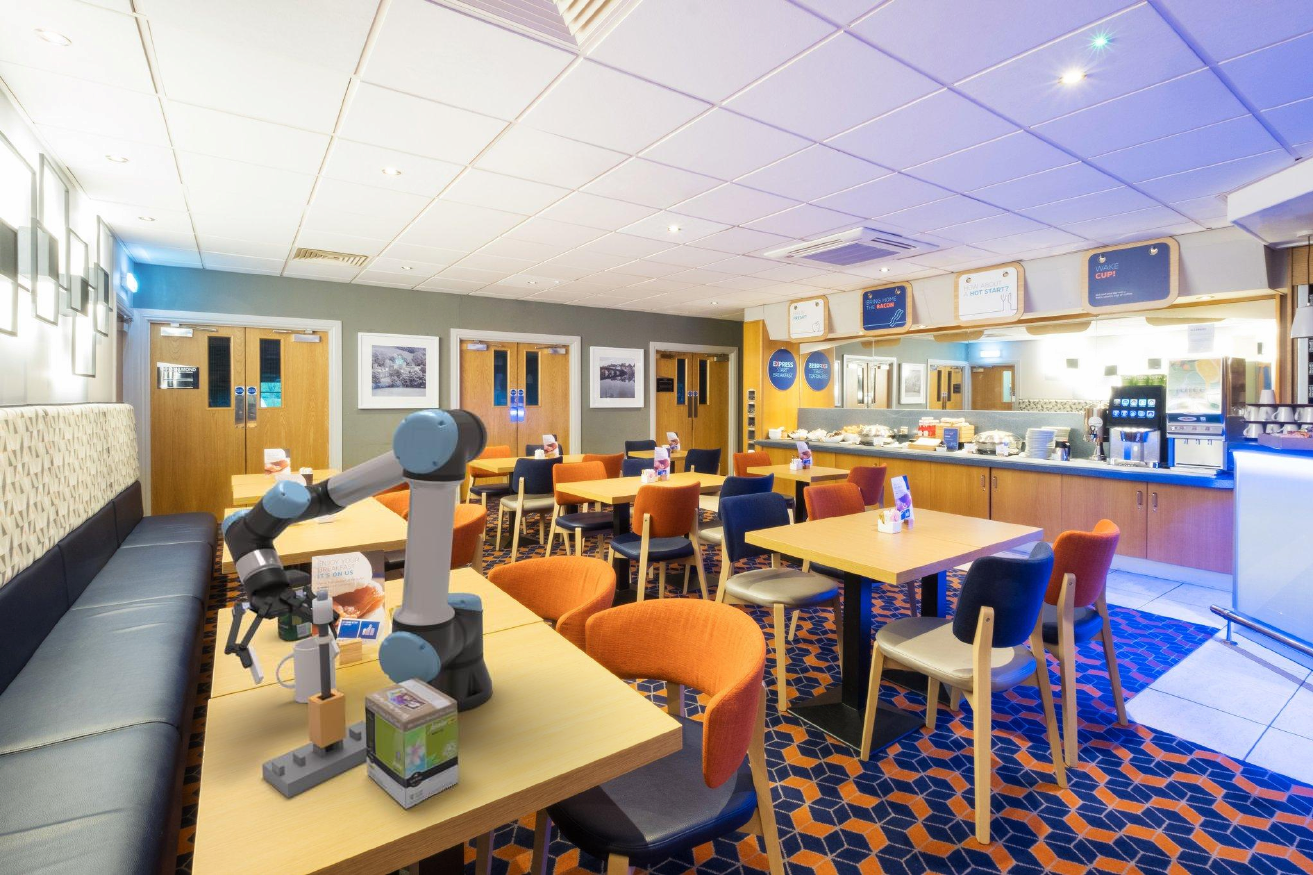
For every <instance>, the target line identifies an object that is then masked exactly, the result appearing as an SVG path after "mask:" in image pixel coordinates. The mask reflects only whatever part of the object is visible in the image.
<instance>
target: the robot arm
mask: <svg viewBox="0 0 1313 875" xmlns="http://www.w3.org/2000/svg"><path fill="white" fill-rule="evenodd" d="M487 443H488V431H487V427H486V425H485V423H484V421H483V420H482V419H481V418H480V417H479V416H478V415H477V414H476V413H473V412H472V411H469V410H466V409H463V408H462V409H461V408H454V409H445V408H444V409H440V408H439V409H437V408H433V409H431V408H429V409H424V410H419V411H416V412H413V413H411V414H409V415H407V416H406V417H405V418H404V419H402V420H401V422H400V423H399V424H398V426H397V427H396V429H395V431H394V435H393V439H392V449H391V450H390V451H387V452H385V453H383V454H380V455H379V456H376V457H373V458H371V459H369V460H367V461H365V462H363V463H360V464H358V465H355V466H354V467H351V468H349V469H346V470H344V471H342V472H339V473H337V474H336V475H333V476H330V477H328V478H327V479H324V480H321V481H319V482H317V483H313V484H308V485H303V484H301V483H299V482H298V481H292V480H291V479H285V480H281V481H279V482H277V483H276V484H275V485H274V486H272V487H271V488H270V489H269V490H267V491H266V492H265V494H264V496H262V497H261V499H260V500H259V501H257V503H255V505H254V506H253V507H252V508H245V509H239V510H235V511H234V513H232V514H229V515H227V516H226V517H225V518H224V519H223V521H222V523H221V524H220V525H221V531H222V535H223V541H224V543H225V544H226V547H227V550H228V551H229V554H230V557H231V558H232V559H231V560H232V562H233V564H234V566H235V570H236V572H237V575H238V576H239V580H240V583H241V584H242V588H243V590H244V593H245V596H246V598H247V600H248V601H247V602H242V601H241V600H237V601H235V602H234V604H233V606H232V608H231V615H232V621H231V625H230V629H229V633H228V636H227V641H226V643H225V644H226V645H225V647H224V651H223V653H224V655H226V656H229V655H231V654H235V656H236V657H238V658H239V660H240V662H241V665H242V668H243V669H250V673H251V675H252V677H253V678H252V679H253V681H254V684H255V686H257V685H259V684H261V683H262V681H263V679H264V677H265V674H264V672H263V669H262V666H261V663H260V660H259V658H258V655H257V653H256V650H255V648H254V645H250V642H251V641H252V639H253V637H254V636H255V634H256V632H257V630H258V629H259V627H260V625H261V623H262V621H263V620H264V619H266V620H269V621H271V620H274V619H276V618H278V617H282V616H286V614H290V615H292V616H297V617H299V618H302V619H304V620H306V621H308V622H310V623H312V624H313V626H314V625H315V626H316V627H318V624H314V623H313V607H312V600H313V599H315V598H317V595H316V594H315V593H314V592H313V590H312V588H311V589H310V587H309V586H307V585H306V586H304V587H303V589H301V590H298V591H294V590H292V588H291V586H290V583H289V580H288V578H287V576H286V573H285V571H286V570H285V569H284V566H283V563H282V562H281V559H280V557H279V555H278V552H277V550H276V547H275V545H274V542H275V540H276V539H278V537H279V536H280V535H281V534H282V533H283V532H284V531H286V529H287V528H288V527H289V526H291V525H294V524H295V525H296V524H298V523H302V522H305V521H308V520H313V519H317V518H320V517H325V516H331V515H335V514H338V513H340V512H342V511H344V510H345V509H347V508H348V507H349V506H351V505H353V504H356V503H358V502H361V501H363V500H366V499H368V498H370V497H372V496H374V495H378V494H380V493H383V492H385V491H387V490H389V489H391V488H393V487H396V486H398V485H401V484H403V483H405V482H406V483H407V484H408V485H409V498H408V513H407V514H408V515H407V525H406V526H407V528H406V541H405V542H406V544H405V555H404V558H405V559H404V571H403V573H404V574H403V585H402V598H401V599H402V600H401V605H399V606H397V607H396V608H395V609H394V611H393V614H392V621H391V633H389V634H388V635H386V637H385V638H384V639H383V640H382V642H381V644H380V646H379V648H378V655H377V656H378V657H377V658H378V662H379V666H380V669H381V670H382V672H383V673H384V674H385V675H387V676H388V678H389V680H390V681H392V682H393V683H395V685H396V684H399V683H402V682H404V681H407V680H410V679H413V678H418V679H419V680H421V681H423V682H425V683H427V684H428V685H430V686H432V687H434V688H435V689H437V690H439V691H440V692H442V693H444V694H446V695H448V696H449V697H451V698H453V699H454V700H456V701H457V713H459V712H463V711H467V710H470V709H473V708H476V707H478V706H481V705H482V704H484V703H485V702H487V701H488V700H489V699H490V698H491V696H493V680H492V678H491V675H490V672H489V670H488V668H487V664H486V661H485V660H484V659H485V658H484V617H483V616H484V615H483V613H484V609H483V603H482V602H483V601H482V598H481V597H480V596H479V595H477V594H475V593H470V592H469V593H468V592H450V593H449V590H450V589H449V588H450V575H451V562H452V549H453V535H454V526H455V525H454V524H455V513H456V500H457V499H456V498H457V489H458V487H459V486H460V485H461V484H462V483H463V482H464V481H465V480H466V473H467V464H469V463H471V462H473V461H475V460H477V459H478V458H479V457H481V455H482V453H483V452H484V450H485V449H486V447H487ZM296 598H300V600H301V601H304V602H305V603H306V604H307V605H308V606H309V607H311V608H312V609H310V608H308V607H306V606H304V605H303V604H302V603H301V602H299V601H297V600H295V599H296ZM292 606H294V607H295V608H294V609H293V608H292ZM247 611H250V612H252V613H254V614H255V615H256V616H255V617H254V619H253V621H252V622H251V624H250V626H249V628H248V630H247V631H246V633H245V635H244V637H243V638H242V640H241V642H240V643H239V642H238V643H237V640H238V635H239V632H240V627H241V624H242V620H243V617H244V615H245V614H246V613H247ZM340 617H341V614H340V613H339V612H338V611H336V610H335V609H334V608H333V621H331V622H329V623H328V626H329V633H333V641H331V642H329V652H330V656H331V659H335V660H336V658H337V657H338V656H339V654H340V652H341V650H340V648H339V646H338V644H337V642H336V641H337V639H338V638H339V637H338V633H337V630H336V628H335V625H336V624H337V623H338V621H339V619H340ZM249 645H250V646H249ZM489 697H490V698H489ZM480 704H481V705H480Z"/></svg>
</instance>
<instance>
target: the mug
mask: <svg viewBox="0 0 1313 875" xmlns="http://www.w3.org/2000/svg"><path fill="white" fill-rule="evenodd" d="M314 637H315V636H311V637H308V638H307V637H306V638H303V639H300V640H298V641H297V642H295V643H294V644H293V647H292V649H293V651H292V652H291V653H288V654H287V655H285V656H284V657H283V658H282V659H281V660H280V662H279V663H278V665H277V667H276V670H275V678H276V681H277V683H278V684H279V685H280V686H282V687H283V688H286V689H289V690H291V689H292V690H293V689H294V696H293V699H294V701H295V702H297V703H300V704H308V697H311V696H314V695H317V694H319V693H321V679H320V654H319V644H315V641H314ZM291 659H293V669H294V670H293V671H294V672H293V673H294V682H292V683H286V682H284V681H282V680H281V679H280V676H279V672H280V669H281V667H282V665H283V664H284V663H285V662H286V661H288V660H291ZM335 660H336V658H335V659H331V656H330V677H331V689H334V690H336V691H338V687H337V683H336V680H337V679H336V663H335V662H336V661H335Z"/></svg>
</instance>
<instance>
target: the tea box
mask: <svg viewBox="0 0 1313 875" xmlns="http://www.w3.org/2000/svg"><path fill="white" fill-rule="evenodd" d="M364 702H365V703H364V710H365V711H364V712H365V722H366V749H367V761H366V773H367V775H368V776H369V777H370V778H371V779H372V780H373V781H375V782H376V783H377V784H378V785H379V786H380V787H381V788H382V789H384V791H386V792H387V793H388V794H389V795H390V796H391V797H392V798H393V799H394V800H395V801H396V802H398V803H399V804H400V805H401V806H402V807H403V808H404V809H407V810H408V809H409V808H411V807H414V806H415V804H416V805H418V804H420V803H422V802H424V801H426V800H428V799H429V798H428V797H430V796H432V795H434V794H436V795H438V794H439V793H438V792H440V791H442V790H443V791H445V790H446V789H445V788H447V789H449V788H451V787H453V786H455V785H456V783H457V784H458V783H459V745H458V744H459V742H458V740H459V738H458V737H459V736H458V733H459V732H458V730H459V729H458V728H459V727H458V712H457V701H456V700H454V699H453V698H451V697H449V696H448V695H446V694H444V693H442V692H440V691H439V690H437V689H435V688H434V687H432V686H430V685H428V684H427V683H425V682H423V681H421V680H419V679H418V678H413V679H410V680H407V681H404V682H402V683H399V684H396V683H395V684H394V685H390V686H388V687H385V688H382V689H379V690H376V691H373V692H370V693H367V694H365V695H364ZM454 784H455V785H454ZM452 785H453V786H452ZM450 786H451V787H450ZM448 787H449V788H448ZM444 789H445V790H444ZM443 791H442V792H443ZM437 793H438V794H437ZM440 793H441V792H440ZM434 796H435V795H434ZM432 797H433V796H432ZM427 798H428V799H427ZM430 798H431V797H430ZM425 799H426V800H425ZM423 800H424V801H423ZM421 801H422V802H421Z"/></svg>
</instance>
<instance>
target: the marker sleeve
mask: <svg viewBox="0 0 1313 875" xmlns="http://www.w3.org/2000/svg"><path fill="white" fill-rule="evenodd" d="M345 700H346V699H345V694H343V693H341V692H339V691H338V690H337V691H336V690H334V689H331V698H329V699H326V700H323V701H322V700H321V693H319V694H317V695H314V696H311V697H308V703H307V705H308V707H307V708H308V709H307V710H308V728H309V730H308V731H309V734H308V735H309V741H310V743H311V742H313V743H314V744H316V745H317V746H319V747H320V748H323V747H325V746H328V745H330V744H332V743H335V742H337V741H339V740H341V739H344V738H346V727H347V726H346V703H345Z"/></svg>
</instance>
